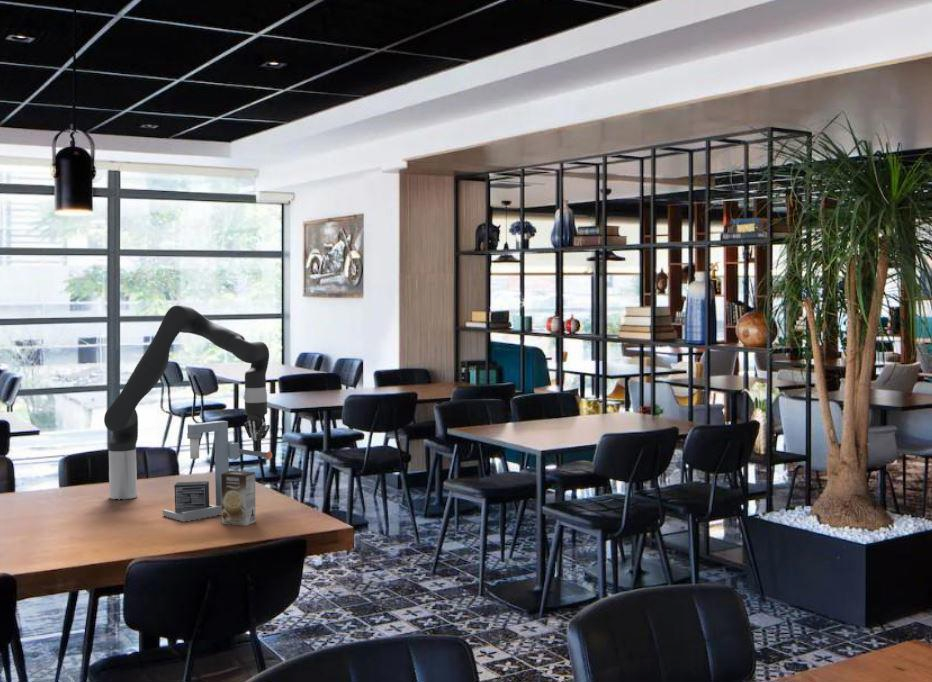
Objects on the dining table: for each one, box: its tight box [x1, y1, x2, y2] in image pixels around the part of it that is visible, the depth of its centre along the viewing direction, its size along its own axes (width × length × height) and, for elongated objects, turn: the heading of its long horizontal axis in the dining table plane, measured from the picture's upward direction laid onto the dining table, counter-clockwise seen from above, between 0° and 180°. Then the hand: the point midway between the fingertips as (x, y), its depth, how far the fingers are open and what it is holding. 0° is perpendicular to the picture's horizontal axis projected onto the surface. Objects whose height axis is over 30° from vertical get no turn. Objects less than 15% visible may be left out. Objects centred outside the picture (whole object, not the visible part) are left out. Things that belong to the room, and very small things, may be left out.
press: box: [162, 420, 240, 523], centre depth 336 cm, size 13×23×30 cm, turn 135°
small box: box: [173, 480, 210, 514], centre depth 336 cm, size 11×6×10 cm, turn 97°
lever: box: [228, 446, 273, 461], centre depth 347 cm, size 3×18×3 cm, turn 135°
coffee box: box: [221, 469, 257, 527], centre depth 322 cm, size 9×6×16 cm
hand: (257, 450), depth 349 cm, fingers closed
